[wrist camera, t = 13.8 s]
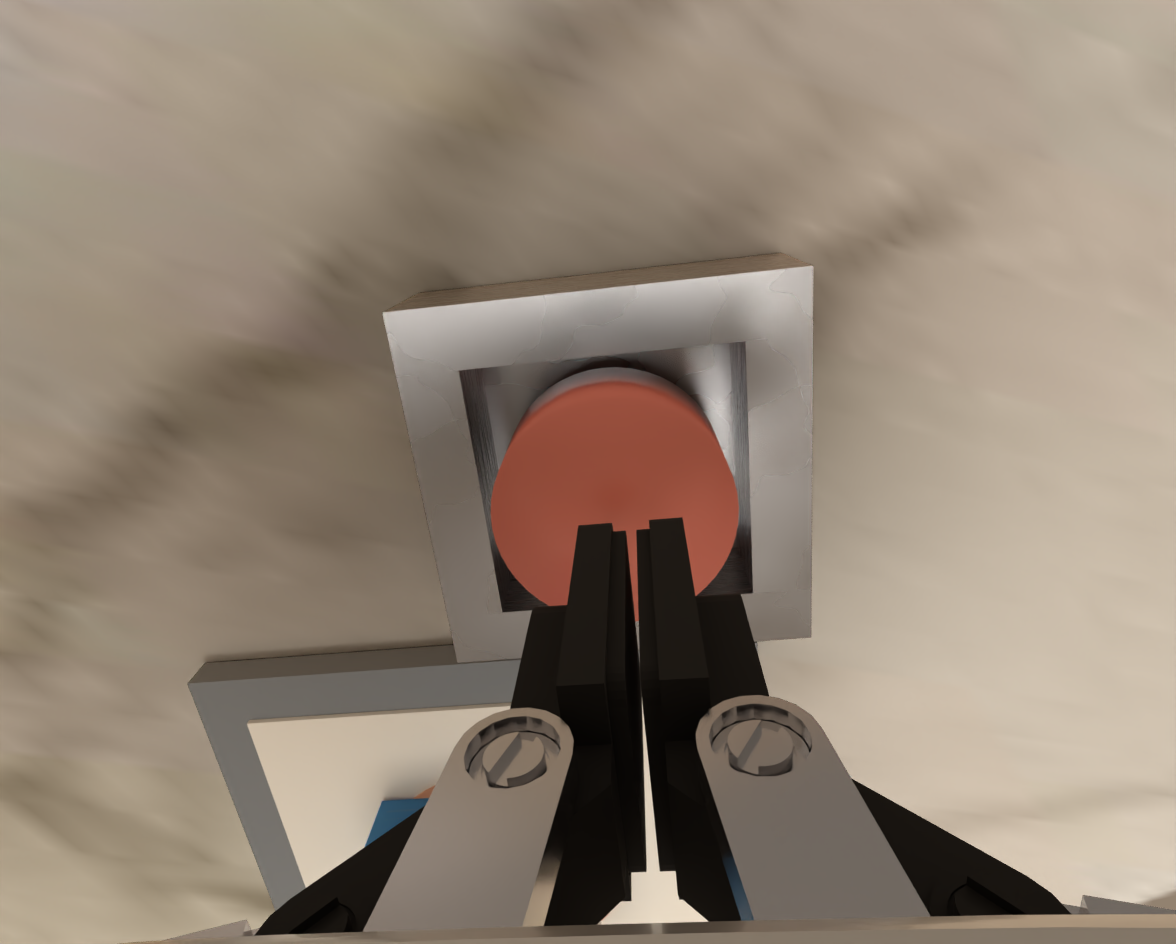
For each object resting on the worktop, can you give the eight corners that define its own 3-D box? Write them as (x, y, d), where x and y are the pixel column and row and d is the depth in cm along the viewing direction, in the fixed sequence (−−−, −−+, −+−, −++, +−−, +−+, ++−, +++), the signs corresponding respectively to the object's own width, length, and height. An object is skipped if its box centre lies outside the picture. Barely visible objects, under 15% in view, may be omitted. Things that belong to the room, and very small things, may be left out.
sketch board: (316, 961, 28) (303, 996, 26) (205, 663, 22) (182, 689, 21) (761, 943, 26) (767, 979, 25) (750, 622, 21) (758, 648, 20)
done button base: (478, 600, 21) (457, 662, 18) (418, 292, 18) (382, 312, 15) (784, 576, 21) (811, 637, 18) (780, 252, 17) (813, 265, 14)
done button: (524, 573, 19) (510, 631, 16) (492, 378, 17) (471, 411, 14) (725, 557, 18) (743, 614, 16) (716, 356, 16) (734, 386, 14)
